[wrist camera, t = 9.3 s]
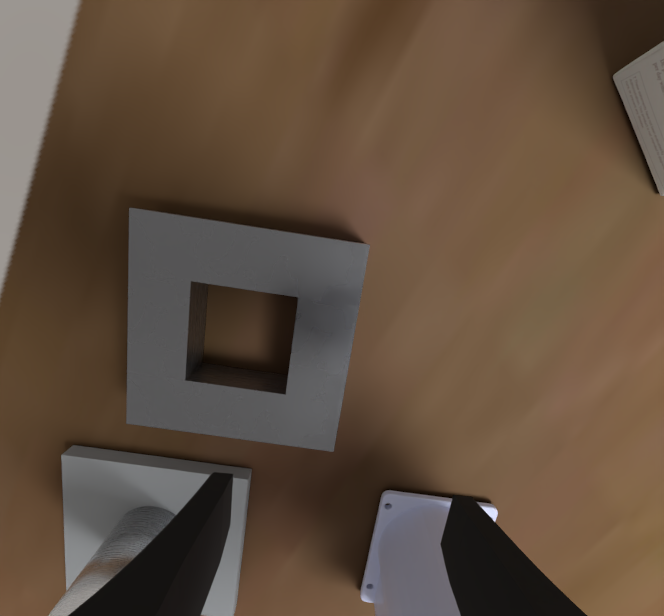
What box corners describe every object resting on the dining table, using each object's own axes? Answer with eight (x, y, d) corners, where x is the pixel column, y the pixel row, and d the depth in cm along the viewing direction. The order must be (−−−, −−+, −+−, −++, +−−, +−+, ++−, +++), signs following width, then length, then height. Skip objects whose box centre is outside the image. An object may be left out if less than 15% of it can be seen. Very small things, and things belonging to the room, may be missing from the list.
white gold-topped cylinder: (184, 572, 23) (108, 744, 15) (113, 558, 23) (-1, 725, 15) (194, 514, 22) (118, 668, 14) (119, 499, 22) (0, 647, 14)
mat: (236, 603, 25) (232, 618, 24) (77, 584, 25) (66, 598, 24) (251, 468, 22) (248, 479, 22) (73, 444, 22) (61, 454, 21)
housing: (333, 427, 22) (333, 451, 19) (150, 401, 21) (126, 423, 19) (365, 243, 19) (369, 245, 17) (155, 210, 19) (129, 207, 16)
